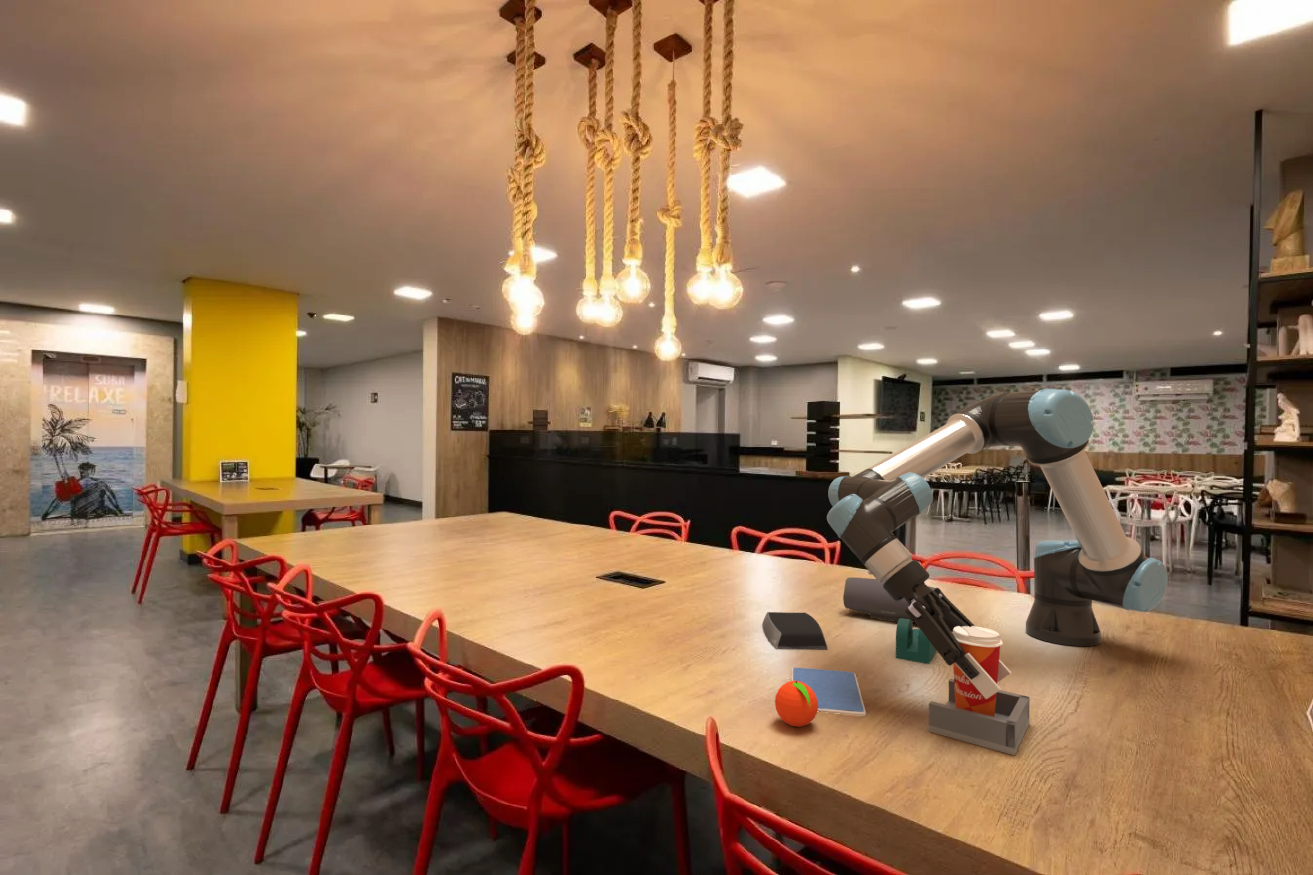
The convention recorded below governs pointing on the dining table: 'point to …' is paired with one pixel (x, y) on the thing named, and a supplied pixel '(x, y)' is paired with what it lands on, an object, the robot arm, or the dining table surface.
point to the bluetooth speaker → (873, 599)
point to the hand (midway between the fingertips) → (999, 685)
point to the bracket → (912, 643)
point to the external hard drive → (793, 631)
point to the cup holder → (983, 721)
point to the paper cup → (986, 653)
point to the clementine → (796, 703)
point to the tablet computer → (832, 690)
